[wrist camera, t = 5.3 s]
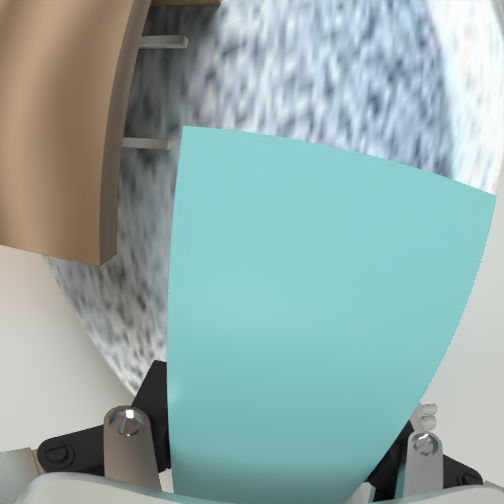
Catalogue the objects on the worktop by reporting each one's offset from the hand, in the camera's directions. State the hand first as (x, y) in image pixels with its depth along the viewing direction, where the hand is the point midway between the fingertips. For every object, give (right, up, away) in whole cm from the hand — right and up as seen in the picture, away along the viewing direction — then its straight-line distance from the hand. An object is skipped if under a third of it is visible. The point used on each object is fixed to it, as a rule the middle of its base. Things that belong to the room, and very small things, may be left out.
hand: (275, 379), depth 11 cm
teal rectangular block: (0, 0, +1) cm, 1 cm away
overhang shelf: (-12, +18, +11) cm, 24 cm away
